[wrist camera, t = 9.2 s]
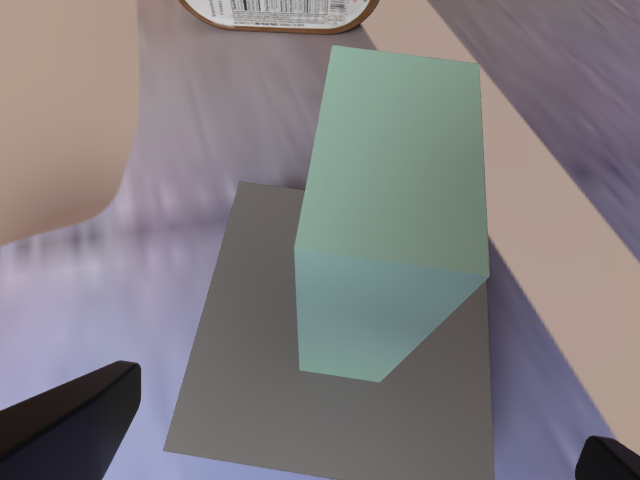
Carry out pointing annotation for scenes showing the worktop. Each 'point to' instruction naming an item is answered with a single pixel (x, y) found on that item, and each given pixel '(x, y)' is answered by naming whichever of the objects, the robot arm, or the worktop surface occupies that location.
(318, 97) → the worktop surface
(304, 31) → the tin
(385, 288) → the mint green block
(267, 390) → the plinth
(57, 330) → the worktop surface
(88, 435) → the robot arm
